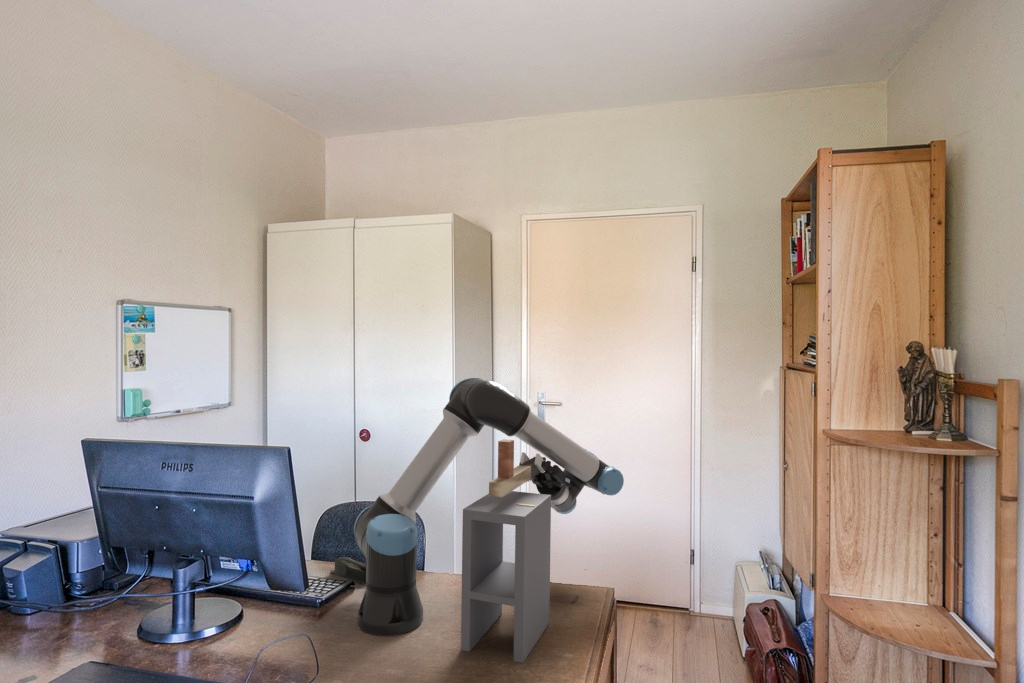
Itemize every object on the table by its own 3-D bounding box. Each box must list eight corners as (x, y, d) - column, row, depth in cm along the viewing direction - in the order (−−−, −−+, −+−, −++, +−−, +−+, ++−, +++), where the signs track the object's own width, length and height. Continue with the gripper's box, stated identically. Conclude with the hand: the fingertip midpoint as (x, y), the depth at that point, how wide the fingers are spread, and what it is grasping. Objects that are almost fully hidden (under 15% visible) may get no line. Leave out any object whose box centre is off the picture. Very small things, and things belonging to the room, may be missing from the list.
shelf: (460, 649, 127) (462, 508, 127) (494, 612, 144) (495, 488, 145) (522, 662, 122) (524, 515, 122) (549, 622, 140) (551, 494, 140)
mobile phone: (374, 565, 162) (336, 553, 170) (366, 568, 159) (328, 556, 167) (374, 583, 162) (336, 570, 170) (366, 587, 159) (327, 573, 167)
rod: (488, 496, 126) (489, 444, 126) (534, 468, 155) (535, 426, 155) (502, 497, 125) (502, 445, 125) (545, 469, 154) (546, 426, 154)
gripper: (578, 503, 161) (558, 475, 142) (523, 497, 166) (496, 470, 147) (582, 476, 164) (563, 446, 145) (527, 471, 170) (502, 441, 151)
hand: (529, 458), depth 146 cm, fingers closed on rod, 3 cm apart
